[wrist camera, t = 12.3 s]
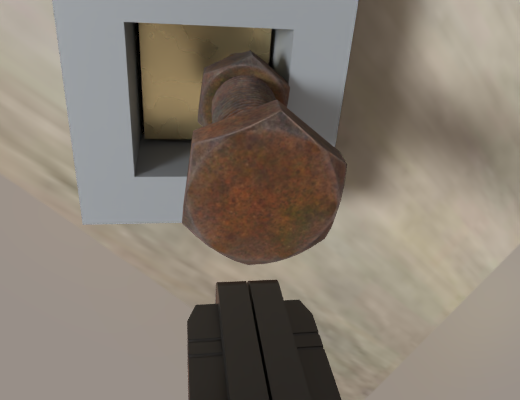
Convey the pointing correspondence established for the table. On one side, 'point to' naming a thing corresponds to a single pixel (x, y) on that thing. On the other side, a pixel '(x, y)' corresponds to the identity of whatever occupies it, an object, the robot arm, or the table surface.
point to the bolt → (257, 167)
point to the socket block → (128, 99)
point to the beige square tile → (186, 70)
